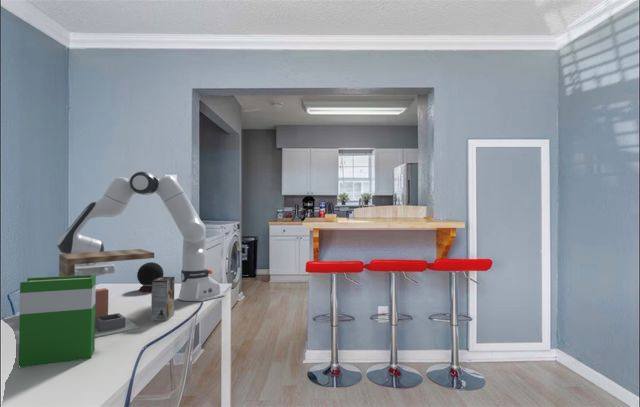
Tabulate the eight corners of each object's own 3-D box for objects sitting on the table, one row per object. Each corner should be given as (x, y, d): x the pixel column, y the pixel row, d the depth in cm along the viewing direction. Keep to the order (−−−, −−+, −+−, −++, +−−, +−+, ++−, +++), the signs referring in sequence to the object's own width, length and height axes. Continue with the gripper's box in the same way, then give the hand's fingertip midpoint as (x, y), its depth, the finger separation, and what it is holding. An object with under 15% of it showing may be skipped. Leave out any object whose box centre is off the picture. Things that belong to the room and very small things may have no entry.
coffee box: (159, 314, 162) (159, 276, 162) (174, 314, 162) (175, 276, 162) (150, 321, 152) (151, 280, 153) (167, 320, 153) (167, 280, 153)
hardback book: (18, 367, 108) (20, 282, 108) (26, 358, 115) (28, 277, 115) (90, 358, 115) (92, 278, 115) (94, 350, 122) (95, 274, 122)
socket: (126, 319, 154) (126, 309, 154) (139, 328, 143) (139, 318, 143) (80, 327, 143) (80, 316, 143) (90, 338, 132) (90, 326, 132)
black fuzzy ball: (132, 290, 207) (132, 262, 207) (155, 286, 217) (155, 260, 217) (144, 293, 199) (145, 265, 199) (168, 289, 209) (168, 262, 209)
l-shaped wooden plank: (139, 316, 158) (140, 249, 158) (153, 326, 146) (154, 252, 146) (57, 331, 139) (59, 254, 139) (66, 343, 127) (67, 258, 127)
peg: (104, 317, 156) (105, 288, 157) (107, 320, 153) (108, 290, 153) (92, 319, 153) (92, 289, 153) (95, 322, 150) (95, 291, 150)
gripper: (58, 263, 165) (64, 267, 155) (110, 259, 179) (119, 263, 169) (57, 277, 165) (63, 283, 155) (109, 273, 179) (118, 277, 169)
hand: (92, 272), depth 162 cm, fingers open, 8 cm apart
